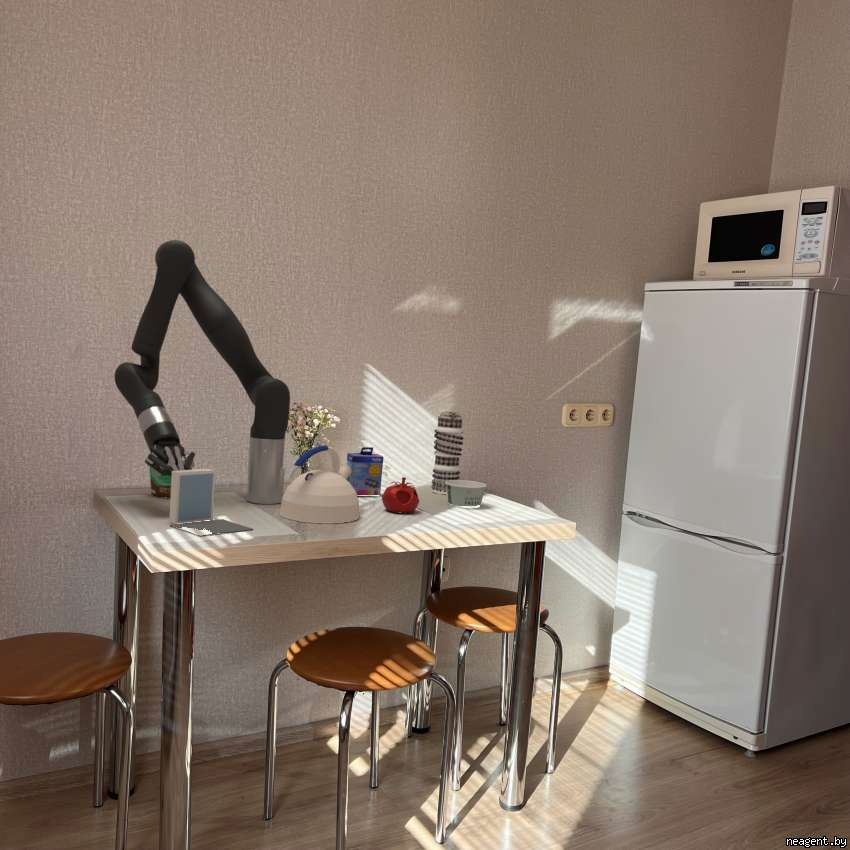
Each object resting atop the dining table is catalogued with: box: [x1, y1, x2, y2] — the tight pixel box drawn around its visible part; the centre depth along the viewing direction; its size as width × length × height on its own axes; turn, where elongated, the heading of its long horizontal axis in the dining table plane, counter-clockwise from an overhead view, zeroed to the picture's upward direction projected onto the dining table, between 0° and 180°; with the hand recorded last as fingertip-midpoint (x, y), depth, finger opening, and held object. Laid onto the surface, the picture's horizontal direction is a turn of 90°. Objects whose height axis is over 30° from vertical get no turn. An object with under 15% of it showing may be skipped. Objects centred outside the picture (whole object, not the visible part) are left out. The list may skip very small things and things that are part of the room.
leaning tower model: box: [431, 411, 465, 492], centre depth 272 cm, size 9×9×25 cm
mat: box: [169, 518, 254, 534], centre depth 200 cm, size 12×14×1 cm
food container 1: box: [146, 460, 195, 499], centre depth 233 cm, size 12×6×10 cm, turn 112°
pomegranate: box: [381, 476, 420, 514], centre depth 237 cm, size 10×10×9 cm
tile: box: [168, 468, 216, 524], centre depth 205 cm, size 3×10×12 cm, turn 137°
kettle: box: [279, 444, 360, 525], centre depth 223 cm, size 20×21×18 cm
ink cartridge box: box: [346, 446, 385, 496], centre depth 257 cm, size 10×6×14 cm, turn 114°
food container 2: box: [445, 479, 488, 506], centre depth 253 cm, size 12×12×6 cm
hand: (183, 487), depth 207 cm, fingers closed
